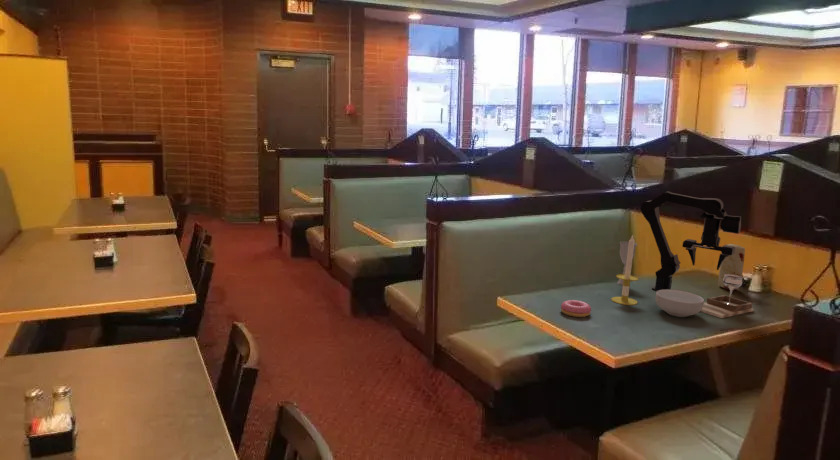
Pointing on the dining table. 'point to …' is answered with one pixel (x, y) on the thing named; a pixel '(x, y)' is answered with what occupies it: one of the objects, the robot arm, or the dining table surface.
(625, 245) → the chalice
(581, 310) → the doughnut
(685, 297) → the cereal bowl
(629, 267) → the candle
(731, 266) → the food model
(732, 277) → the wineglass
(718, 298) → the brown wooden tray
